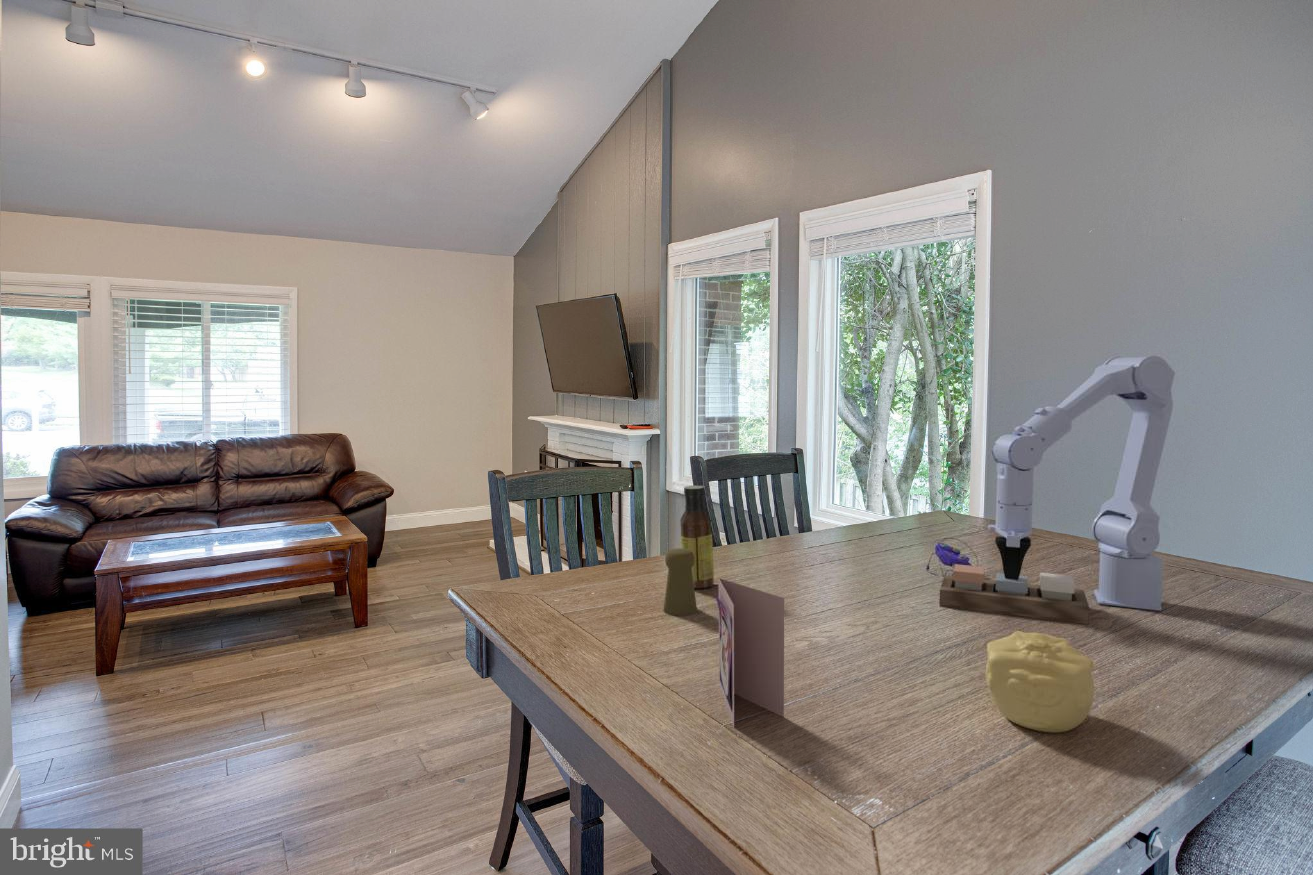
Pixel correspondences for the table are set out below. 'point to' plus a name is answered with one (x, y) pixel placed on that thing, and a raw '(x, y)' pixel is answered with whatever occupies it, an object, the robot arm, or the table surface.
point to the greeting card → (751, 646)
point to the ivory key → (1056, 586)
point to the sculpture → (1040, 681)
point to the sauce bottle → (698, 536)
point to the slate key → (1011, 585)
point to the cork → (680, 583)
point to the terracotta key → (968, 577)
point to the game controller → (950, 555)
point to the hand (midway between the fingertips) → (1011, 578)
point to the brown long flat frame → (1015, 602)
